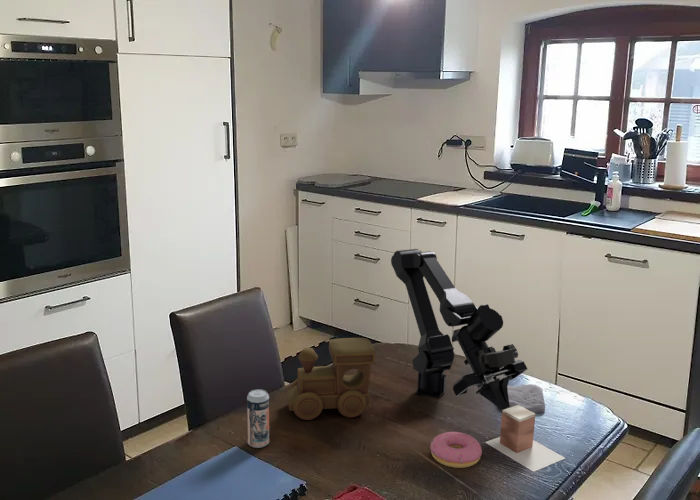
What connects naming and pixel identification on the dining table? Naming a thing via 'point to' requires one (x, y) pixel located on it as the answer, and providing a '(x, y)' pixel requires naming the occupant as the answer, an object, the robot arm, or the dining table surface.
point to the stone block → (527, 397)
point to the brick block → (517, 428)
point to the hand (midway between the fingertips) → (508, 412)
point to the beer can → (258, 418)
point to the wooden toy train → (333, 380)
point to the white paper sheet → (529, 455)
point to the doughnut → (456, 449)
